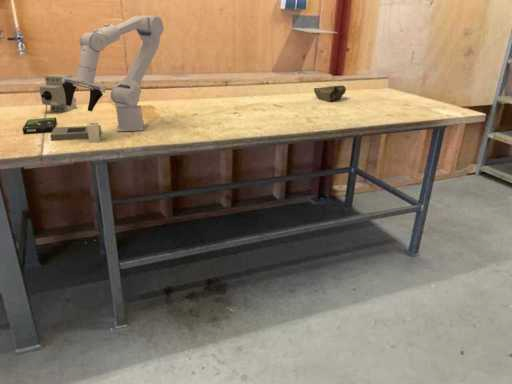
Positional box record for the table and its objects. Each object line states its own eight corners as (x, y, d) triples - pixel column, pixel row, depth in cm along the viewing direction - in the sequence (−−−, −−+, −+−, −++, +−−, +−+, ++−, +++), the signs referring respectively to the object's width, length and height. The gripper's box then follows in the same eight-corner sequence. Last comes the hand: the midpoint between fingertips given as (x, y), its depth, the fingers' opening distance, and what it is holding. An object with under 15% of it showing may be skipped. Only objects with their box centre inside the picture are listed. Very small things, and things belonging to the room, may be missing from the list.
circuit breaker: (41, 113, 180) (34, 78, 174) (62, 107, 192) (57, 73, 186) (56, 115, 178) (50, 79, 172) (77, 108, 191) (71, 74, 185)
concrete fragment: (308, 93, 221) (325, 75, 225) (318, 108, 226) (335, 90, 230) (326, 91, 209) (344, 72, 213) (336, 107, 213) (353, 88, 217)
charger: (100, 139, 148) (97, 122, 145) (99, 142, 145) (97, 124, 142) (90, 139, 147) (87, 122, 144) (89, 142, 144) (86, 125, 141)
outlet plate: (101, 130, 158) (100, 125, 157) (99, 137, 149) (99, 132, 148) (55, 132, 154) (54, 127, 153) (51, 140, 145) (50, 135, 144)
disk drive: (54, 134, 155) (57, 123, 167) (53, 126, 153) (56, 116, 166) (23, 136, 151) (28, 125, 164) (22, 128, 150) (27, 118, 163)
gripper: (60, 61, 137) (52, 101, 138) (103, 71, 136) (94, 112, 138) (70, 65, 144) (63, 104, 145) (111, 75, 143) (103, 114, 145)
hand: (79, 108), depth 142 cm, fingers open, 7 cm apart
